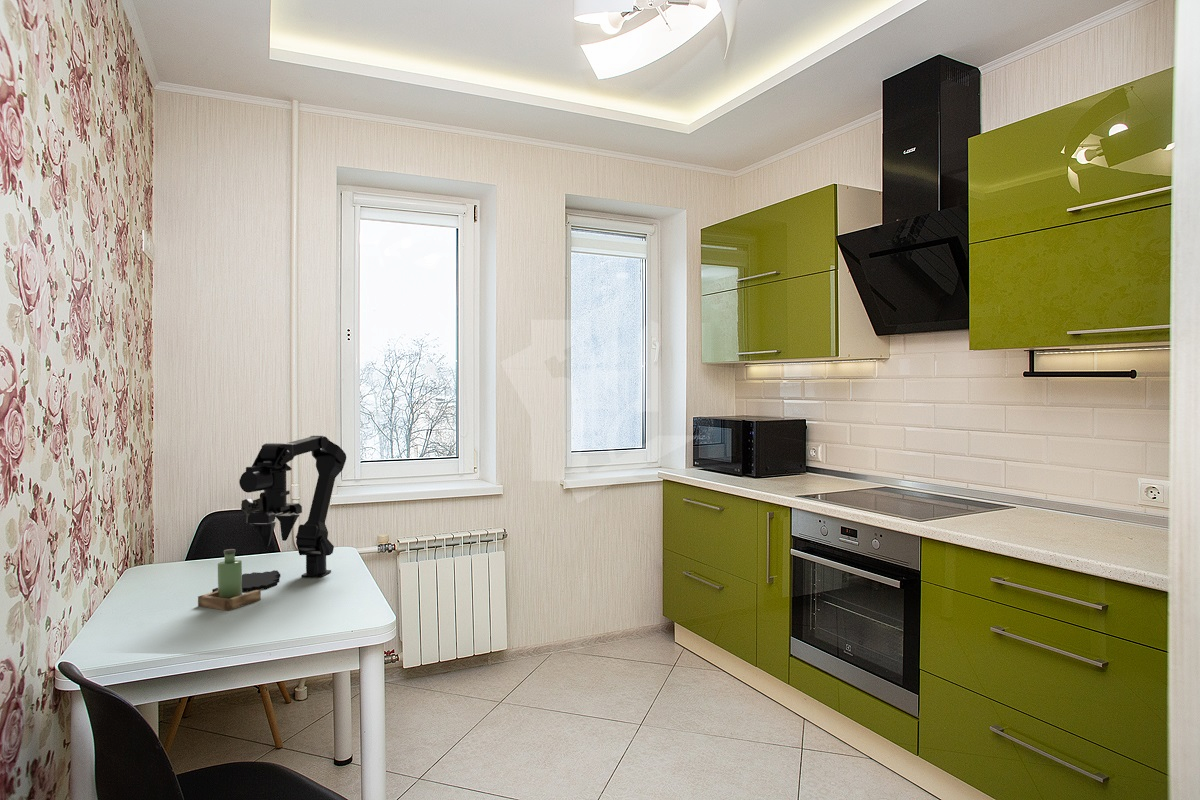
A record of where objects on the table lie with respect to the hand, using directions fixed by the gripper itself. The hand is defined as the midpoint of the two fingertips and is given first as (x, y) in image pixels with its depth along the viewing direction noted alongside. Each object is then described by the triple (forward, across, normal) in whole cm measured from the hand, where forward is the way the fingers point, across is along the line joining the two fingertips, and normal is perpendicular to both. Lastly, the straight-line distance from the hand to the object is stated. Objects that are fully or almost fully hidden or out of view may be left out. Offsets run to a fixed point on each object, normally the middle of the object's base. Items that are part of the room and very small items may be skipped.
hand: (275, 543), depth 195 cm
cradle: (+13, +12, -6) cm, 19 cm away
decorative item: (+14, -6, -13) cm, 20 cm away
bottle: (+13, +12, -6) cm, 18 cm away
